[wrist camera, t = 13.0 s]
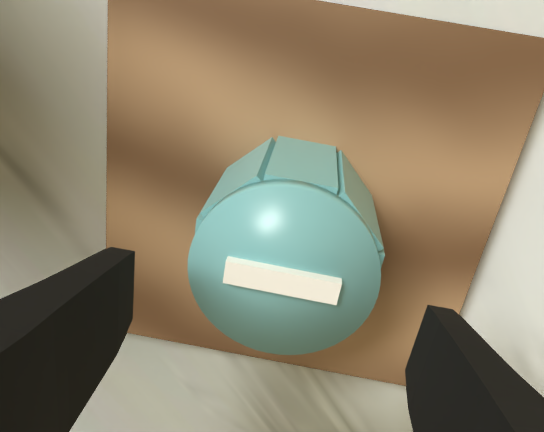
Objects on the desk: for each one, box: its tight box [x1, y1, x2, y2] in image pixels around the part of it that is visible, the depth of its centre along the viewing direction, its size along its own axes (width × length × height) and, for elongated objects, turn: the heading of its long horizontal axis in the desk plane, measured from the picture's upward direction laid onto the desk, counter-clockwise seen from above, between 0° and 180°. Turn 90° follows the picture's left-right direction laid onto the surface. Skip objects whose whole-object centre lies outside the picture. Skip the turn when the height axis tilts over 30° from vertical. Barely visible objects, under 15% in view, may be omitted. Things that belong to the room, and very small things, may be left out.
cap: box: [188, 136, 385, 355], centre depth 16 cm, size 5×5×5 cm
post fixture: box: [106, 0, 544, 386], centre depth 17 cm, size 14×14×4 cm
